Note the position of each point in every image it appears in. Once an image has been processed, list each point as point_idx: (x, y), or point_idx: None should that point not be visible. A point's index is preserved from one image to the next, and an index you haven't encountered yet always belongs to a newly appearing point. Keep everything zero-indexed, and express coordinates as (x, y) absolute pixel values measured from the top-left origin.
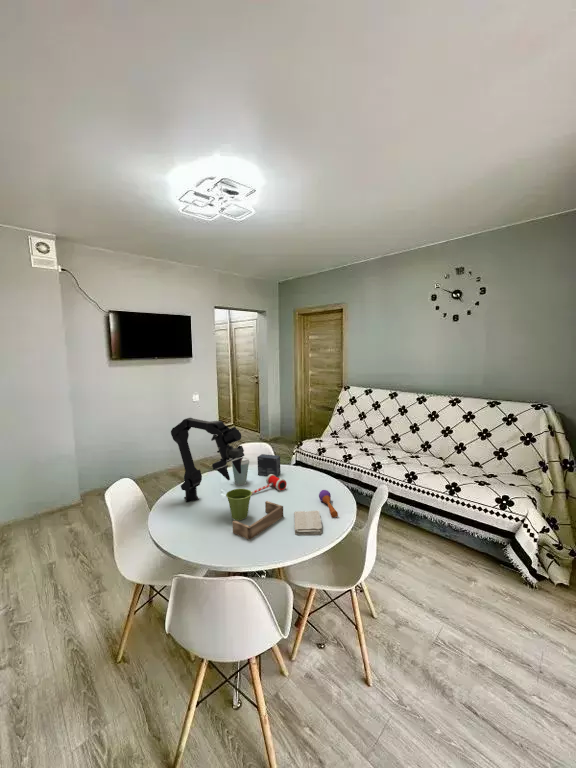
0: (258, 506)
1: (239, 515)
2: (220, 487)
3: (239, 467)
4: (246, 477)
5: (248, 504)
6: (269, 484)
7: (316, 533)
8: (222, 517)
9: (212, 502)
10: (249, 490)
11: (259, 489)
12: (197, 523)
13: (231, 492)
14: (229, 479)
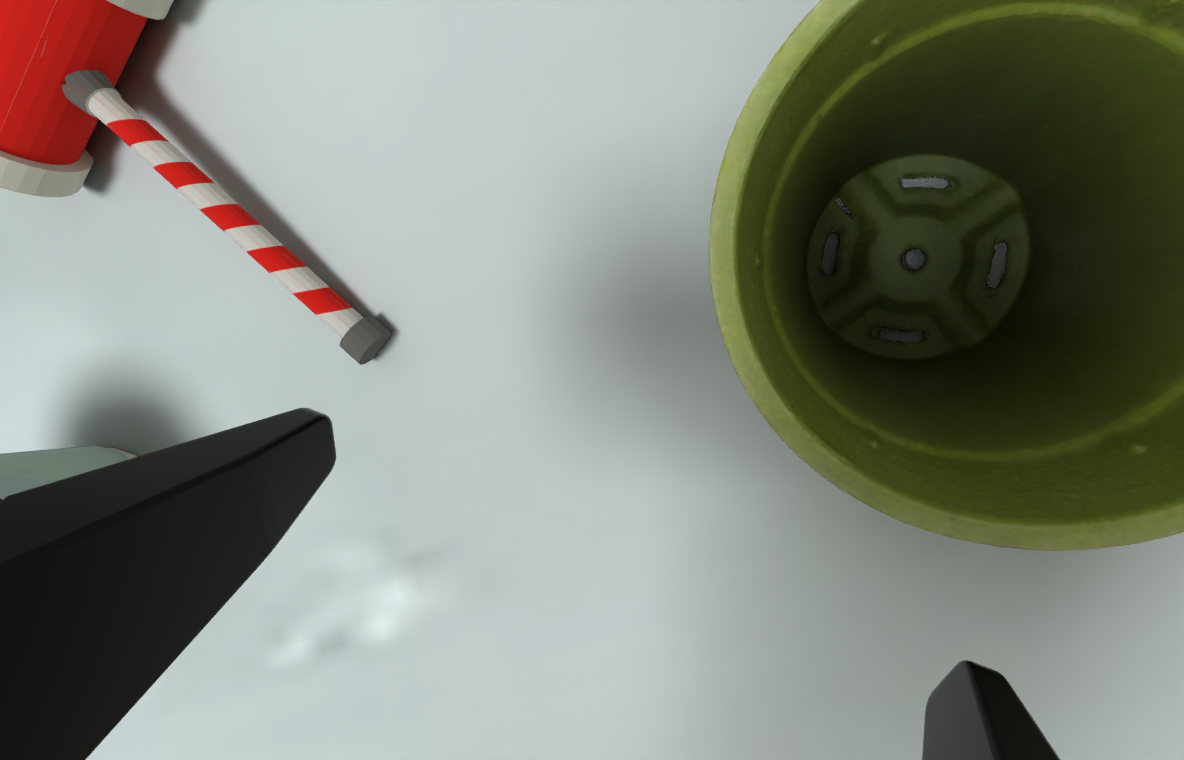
0: (594, 110)
1: (1072, 210)
2: (249, 680)
3: (119, 532)
4: (39, 453)
5: (999, 55)
6: (113, 113)
7: None
8: None
9: (575, 684)
10: (799, 43)
11: (238, 217)
12: (1125, 734)
13: (872, 463)
14: (1002, 682)
